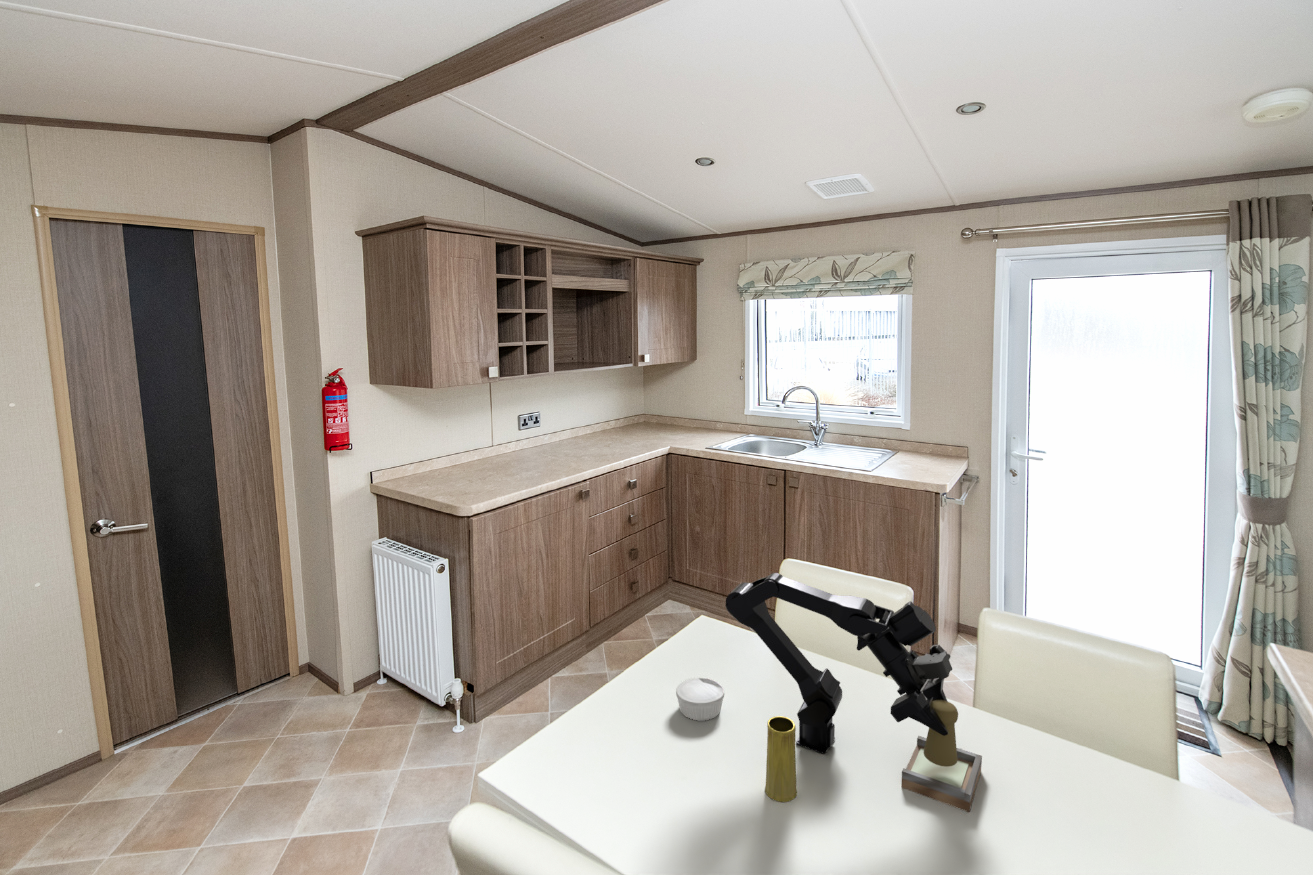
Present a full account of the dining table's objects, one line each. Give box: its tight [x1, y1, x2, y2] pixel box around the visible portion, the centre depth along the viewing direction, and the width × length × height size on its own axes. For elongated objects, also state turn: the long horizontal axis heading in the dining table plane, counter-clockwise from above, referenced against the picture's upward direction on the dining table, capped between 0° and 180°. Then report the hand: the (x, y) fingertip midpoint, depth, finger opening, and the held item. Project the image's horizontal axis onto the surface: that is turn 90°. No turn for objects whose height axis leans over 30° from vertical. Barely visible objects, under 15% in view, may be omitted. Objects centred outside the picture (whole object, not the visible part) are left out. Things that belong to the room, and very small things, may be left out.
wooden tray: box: [900, 735, 983, 813], centre depth 126 cm, size 12×13×4 cm
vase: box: [764, 715, 798, 803], centre depth 124 cm, size 6×6×14 cm
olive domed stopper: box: [923, 700, 959, 767], centre depth 124 cm, size 6×6×11 cm
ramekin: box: [675, 677, 725, 722], centre depth 152 cm, size 11×11×5 cm
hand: (949, 727), depth 123 cm, fingers closed on olive domed stopper, 5 cm apart
